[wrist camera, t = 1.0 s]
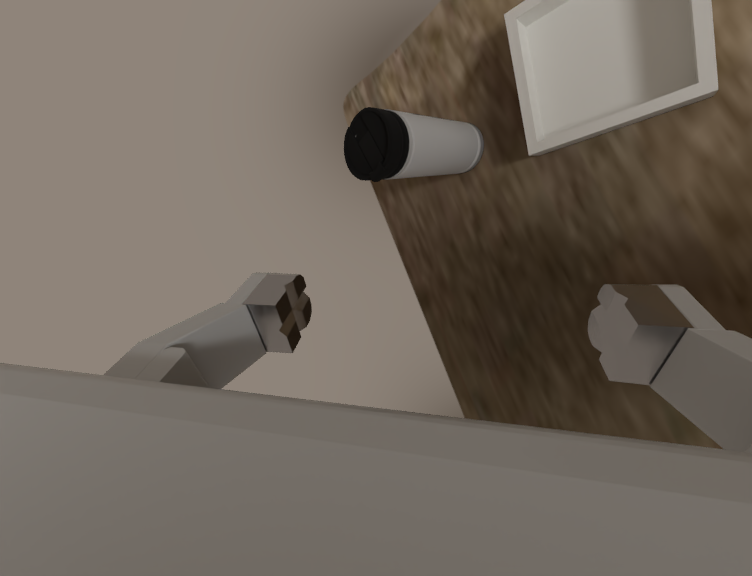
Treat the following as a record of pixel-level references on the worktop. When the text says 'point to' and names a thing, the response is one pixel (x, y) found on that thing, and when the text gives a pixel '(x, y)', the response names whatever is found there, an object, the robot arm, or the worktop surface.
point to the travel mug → (409, 145)
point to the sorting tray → (607, 64)
